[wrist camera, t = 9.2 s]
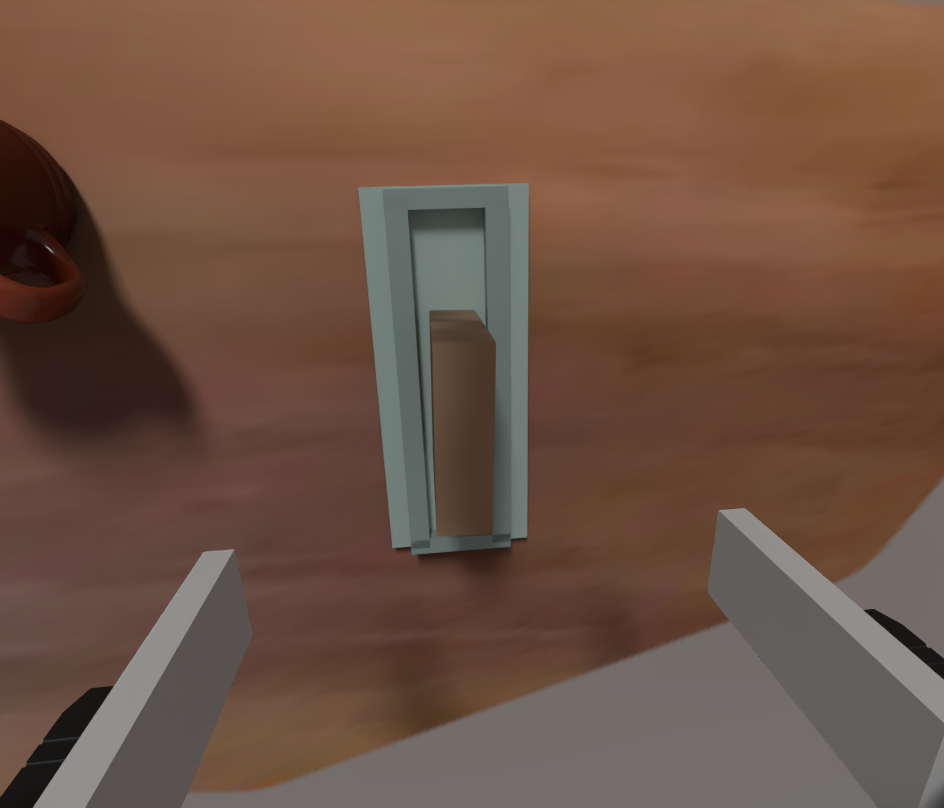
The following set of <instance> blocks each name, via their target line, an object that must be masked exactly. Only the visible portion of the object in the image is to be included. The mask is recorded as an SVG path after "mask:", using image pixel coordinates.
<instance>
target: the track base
mask: <svg viewBox="0 0 944 808" xmlns="http://www.w3.org/2000/svg"><path fill="white" fill-rule="evenodd" d="M359 199H360V209H361V220H362V230H363V241H364V251H365V262H366V273H367V283H368V294H369V304H370V315H371V325H372V336H373V347H374V357H375V368H376V378H377V389H378V399H379V410H380V421H381V431H382V442H383V452H384V463H385V473H386V484H387V495H388V505H389V516H390V526H391V537H392V547H393V548H399V547H411V551H412V555H414V554H427V553H439V552H451V551H464V550H476V549H488V548H501V547H511V539H512V538H525V537H527V461H528V233H529V183H512V184H474V185H436V186H398V187H360V188H359ZM429 310H475V311H476V312H477V314H478V315H479V317H480V319H481V320H482V322H483V323H484V325H485V326H486V328H487V329H488V331H489V332H490V334H491V335H492V337H493V339H494V340H495V342H496V382H495V440H494V499H493V534H480V535H460V536H440V537H437V532H436V511H435V490H434V469H433V441H432V401H431V360H430V320H429Z"/></svg>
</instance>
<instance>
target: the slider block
mask: <svg viewBox="0 0 944 808" xmlns="http://www.w3.org/2000/svg"><path fill="white" fill-rule="evenodd" d="M429 320H430V360H431V401H432V441H433V469H434V490H435V511H436V532H437V537H440V536H460V535H480V534H493V499H494V440H495V382H496V342H495V340H494V339H493V337H492V335H491V334H490V332H489V331H488V329H487V328H486V326H485V325H484V323H483V322H482V320H481V319H480V317H479V315H478V314H477V312H476V311H475V310H429Z"/></svg>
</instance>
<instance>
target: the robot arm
mask: <svg viewBox="0 0 944 808" xmlns="http://www.w3.org/2000/svg"><path fill="white" fill-rule="evenodd" d="M707 592H708V593H709V595H710V596H711V597H712V599H713V600H714V601H715V602H716V604H717V605H718V606H719V607H720V609H721V610H722V611H723V612H724V614H725V615H726V616H727V618H728V619H729V620H730V621H731V623H732V624H733V625H734V626H735V628H736V629H737V630H738V631H739V633H740V634H741V635H742V637H743V638H744V639H745V640H746V642H747V643H748V644H749V645H750V647H751V648H752V649H753V650H754V652H755V653H756V654H757V655H758V657H759V658H760V659H761V661H762V662H763V663H764V664H765V666H766V667H767V668H768V669H769V671H770V672H771V673H772V674H773V676H774V677H775V678H776V680H778V682H779V683H780V684H781V686H782V687H783V688H784V690H785V691H786V692H787V693H788V695H789V696H790V697H791V699H792V700H793V701H794V702H795V704H796V705H797V706H798V707H799V709H800V710H801V711H802V712H803V714H804V715H805V716H806V718H807V719H808V720H809V721H810V723H811V724H812V725H813V726H814V728H815V729H816V730H817V731H818V733H819V734H820V735H821V737H822V738H823V739H824V740H825V742H826V743H827V744H828V745H829V747H830V748H831V749H832V750H833V752H834V753H835V754H836V756H837V757H838V758H839V759H840V760H841V762H842V763H843V764H844V766H845V767H846V768H847V769H848V771H849V772H850V773H851V774H852V776H853V777H854V778H855V780H856V781H857V782H858V783H859V785H860V786H861V787H862V788H863V790H864V791H865V792H866V793H867V795H868V796H869V797H870V799H871V800H872V801H873V802H874V804H875V805H876V806H877V807H878V808H944V658H942V657H941V656H940V655H939V654H938V653H936V652H935V651H934V650H933V649H932V648H927V646H926V644H925V643H924V642H923V641H922V640H920V639H919V638H918V637H917V636H916V635H914V634H913V633H912V632H911V631H909V630H908V629H907V628H906V627H905V626H903V625H902V624H900V623H898V622H897V621H895V620H893V619H891V618H889V617H888V616H886V615H884V614H882V613H880V612H878V611H877V610H875V609H869V610H862V609H861V608H860V607H859V606H858V605H857V604H855V603H854V602H853V601H852V600H851V599H849V598H848V597H847V596H846V595H845V594H844V593H843V592H841V591H840V590H839V589H838V588H837V587H836V586H834V585H833V584H832V583H831V582H830V581H829V580H828V579H826V578H825V577H824V576H823V575H822V574H821V573H819V572H818V571H817V570H816V569H815V568H814V567H812V566H811V565H810V564H809V563H808V562H807V561H805V560H804V559H803V558H802V557H801V556H800V555H799V554H797V553H796V552H795V551H794V550H793V549H792V548H790V547H789V546H788V545H787V544H786V543H785V542H783V541H782V540H781V539H780V538H779V537H778V536H776V535H775V534H774V533H773V532H772V531H771V530H770V529H768V528H767V527H766V526H765V525H764V524H763V523H761V522H760V521H759V520H758V519H757V518H756V517H754V516H753V515H752V514H751V513H750V512H749V511H747V510H746V509H745V508H741V509H729V510H719V512H718V519H717V526H716V533H715V540H714V547H713V554H712V561H711V569H710V576H709V583H708V590H707ZM251 637H252V630H251V625H250V621H249V616H248V611H247V606H246V602H245V597H244V592H243V588H242V583H241V578H240V574H239V569H238V564H237V559H236V555H235V550H221V551H209V552H203V554H202V555H201V557H200V558H199V560H198V561H197V563H196V564H195V566H194V567H193V569H192V570H191V572H190V573H189V575H188V576H187V578H186V579H185V581H184V582H183V584H182V585H181V587H180V588H179V590H178V591H177V593H176V594H175V596H174V597H173V599H172V600H171V602H170V603H169V605H168V606H167V608H166V609H165V611H164V612H163V614H162V615H161V617H160V618H159V620H158V621H157V623H156V624H155V626H154V627H153V629H152V630H151V632H150V633H149V635H148V636H147V638H146V639H145V641H144V642H143V644H142V645H141V647H140V648H139V650H138V651H137V653H136V654H135V656H134V657H133V659H132V660H131V662H130V663H129V665H128V666H127V668H126V669H125V671H124V672H123V674H122V675H121V677H120V678H119V680H118V681H117V683H116V684H115V686H109V687H99V688H91V689H90V690H88V691H87V692H86V693H85V694H84V695H83V696H81V697H80V698H79V699H78V700H77V701H76V702H74V703H73V704H72V705H71V706H70V707H69V708H67V709H66V710H65V711H64V712H63V713H62V714H61V716H60V717H59V719H58V720H57V721H56V723H55V724H54V725H53V727H52V728H51V729H50V731H49V732H48V733H47V735H46V736H45V738H44V739H43V743H42V744H40V745H39V746H38V747H37V748H36V750H35V751H34V752H33V754H32V755H31V757H30V758H29V759H28V761H27V765H26V767H24V768H22V769H21V770H20V771H19V773H18V774H17V776H16V777H15V778H14V780H13V781H12V782H11V784H10V785H9V786H8V788H7V789H6V790H5V792H4V793H3V795H2V796H1V797H0V808H181V807H182V804H183V802H184V799H185V797H186V794H187V792H188V790H189V787H190V785H191V782H192V780H193V777H194V775H195V773H196V770H197V768H198V765H199V763H200V760H201V758H202V756H203V753H204V751H205V748H206V746H207V744H208V741H209V739H210V736H211V734H212V731H213V729H214V727H215V724H216V722H217V719H218V717H219V714H220V712H221V710H222V707H223V705H224V702H225V700H226V697H227V695H228V693H229V690H230V688H231V685H232V683H233V680H234V678H235V676H236V673H237V671H238V668H239V666H240V663H241V661H242V659H243V656H244V654H245V651H246V649H247V647H248V644H249V642H250V639H251Z"/></svg>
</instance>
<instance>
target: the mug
mask: <svg viewBox="0 0 944 808" xmlns="http://www.w3.org/2000/svg"><path fill="white" fill-rule="evenodd" d="M75 217H76V216H75V206H74V201H73V196H72V193H71V189H70V186H69V184H68V181H67V179H66V177H65V175H64V173H63V172H62V170H61V168H60V167H59V165H58V164H57V162H56V161H55V160H54V159H53V157H52V156H51V155H50V154H49V153H48V152H47V151H46V150H45V149H44V148H43V147H42V146H41V145H40V144H39V143H38V142H37V141H35V140H34V139H33V138H31V137H30V136H29V135H27V134H25V133H24V132H22V131H20V130H19V129H17V128H15V127H13V126H12V125H10V124H8V123H6V122H4V121H2V120H0V318H3V319H6V320H10V321H14V322H22V323H42V322H48V321H52V320H55V319H58V318H61V317H63V316H65V315H67V314H69V313H70V312H71V311H73V310H74V309H75V308H76V307H77V305H78V304H79V302H80V301H81V299H82V297H83V296H84V293H85V291H86V286H87V282H86V278H85V275H84V273H83V272H82V270H81V269H80V268H79V266H78V265H77V264H76V263H75V262H74V260H73V259H72V258H71V257H70V255H69V254H68V253H67V251H66V250H65V249H64V246H65V245H66V244H67V242H68V240H69V238H70V236H71V233H72V230H73V227H74V224H75ZM24 271H28V272H31V273H33V274H35V275H37V276H39V277H41V278H43V279H45V280H46V281H47V282H49V283H50V284H51V285H52V286H48V287H33V286H28V285H25V284H21V283H19V282H16V281H13V280H11V279H9V278H7V277H5V275H11V274H15V273H20V272H24Z"/></svg>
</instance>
